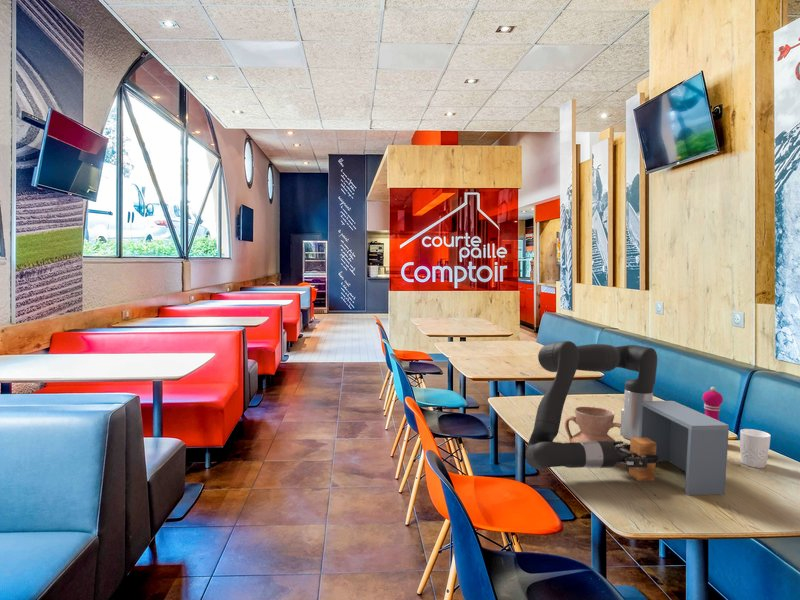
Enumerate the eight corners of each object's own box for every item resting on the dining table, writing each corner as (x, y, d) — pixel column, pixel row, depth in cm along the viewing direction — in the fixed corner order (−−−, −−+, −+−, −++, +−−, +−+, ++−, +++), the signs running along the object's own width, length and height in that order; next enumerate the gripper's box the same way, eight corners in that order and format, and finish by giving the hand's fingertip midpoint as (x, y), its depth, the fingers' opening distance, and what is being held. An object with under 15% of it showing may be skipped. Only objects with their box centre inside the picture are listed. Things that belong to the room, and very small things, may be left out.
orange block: (638, 480, 148) (639, 443, 147) (628, 473, 153) (630, 437, 152) (654, 480, 148) (656, 443, 147) (644, 473, 153) (646, 437, 152)
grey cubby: (687, 495, 139) (691, 425, 137) (638, 460, 163) (640, 401, 162) (724, 493, 140) (729, 425, 138) (669, 459, 164) (673, 400, 163)
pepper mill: (725, 447, 176) (729, 389, 174) (702, 445, 177) (706, 388, 176) (717, 440, 183) (720, 385, 181) (695, 438, 184) (698, 383, 183)
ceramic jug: (625, 452, 170) (626, 409, 169) (615, 465, 158) (616, 420, 157) (571, 441, 180) (571, 401, 180) (557, 453, 169) (558, 410, 168)
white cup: (765, 461, 163) (767, 431, 163) (771, 470, 156) (773, 438, 155) (736, 457, 167) (738, 427, 166) (740, 466, 159) (742, 434, 159)
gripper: (608, 450, 141) (664, 449, 143) (585, 433, 155) (636, 432, 157) (607, 477, 142) (662, 475, 143) (584, 457, 156) (635, 456, 157)
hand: (648, 453), depth 150 cm, fingers open, 8 cm apart
